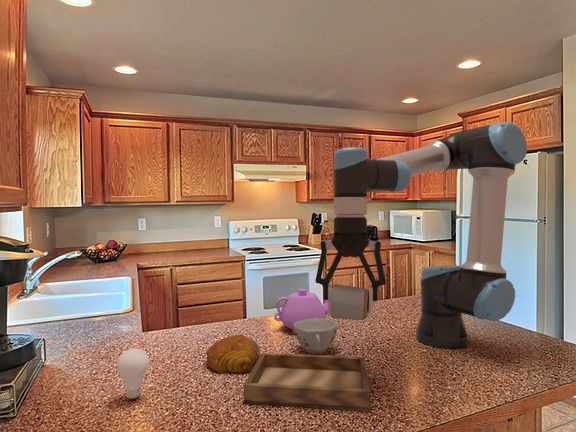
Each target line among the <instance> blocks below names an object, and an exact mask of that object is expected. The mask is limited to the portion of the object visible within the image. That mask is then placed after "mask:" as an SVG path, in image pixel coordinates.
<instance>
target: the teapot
mask: <svg viewBox="0 0 576 432" xmlns="http://www.w3.org/2000/svg"><path fill="white" fill-rule="evenodd" d="M297 291H298V292H292V293H290V294H289V295H288V296H281V297H279V298H278V299H277V300H276V303H275V305H276V310H277V313H275V314H274V316H273V319H274V320H275V321H276V322H282V324H283V325H284V326H285V327H286V328H289V329H291V334H293V335H296V334H295V329H294V323H295V322H297V321H301V320H304V319H309V318H323V319H324V318H327V317H326V316H327V315H328V300H324V303H322V302H321V300H320V298H319V297H318V295H317V294H316V293H314V292H309V291H308V289H306V288H299V289H297ZM281 301H284V303H283V305H282V307H280V302H281ZM277 316H278V317H277Z"/></svg>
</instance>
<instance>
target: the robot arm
mask: <svg viewBox="0 0 576 432" xmlns="http://www.w3.org/2000/svg"><path fill="white" fill-rule="evenodd" d="M522 131H523V130H522V129H521V128H520V127H519V126H518V125H516V124H515V123H513V122H511V121H502V122H493V123H490V124H487V125H486V124H485V125H482V126H479V127H474V128H470V129H465V130H460V131H457V132H455V133H453V134H450V135H448V136H445V137H443V138H442V137H441V138H439V139H435V140H433V141H430V142H429V143H428V144H427V145H426V146H422V147H419V148H418V147H417V148H415V149H410V150H408V151H403V152H400V153H395V154H392V155H388V156H385V157H384V156H383V157H380V158H376V159H371V158H369V157H368V151H367V149H366V148H362V147H344V148H343V147H342V148H339V149H337V150H336V151H335V153H334V156H333V157H334V158H333V195H334V196H333V214H334V215H336V216H335V217H334V218H333V236H332V238H331V239H329V240H323V239H322V240H321V241H320V243H319V246H320V250H321V251H320V257H319V262H318V265H317V271H316V277H315V283H316V284H319V285H321V286H322V289H323V292H322V293H323V294H322V295H323V297H322V298H323V300H324V301H326V300H328V314H327V315H328V316H331V295H332V289H333V286H332V284H330V282H331V280H332V279H333V275H334V274H335V272H336V270H337V268H338V266H339V263H340V261H341V260H342V258H349V257H352V258H359V260H360V262H361V265H362V267H363V269H364V271H365V273H366V275H367V277H368V279H369V282H370V283H371V285H367V290H368V292H369V295H368V317H369V318H373V306H374V305H373V302H377V301H378V298H379V297H378V293H379V292H378V291H379V290H378V288H379V287H380V286H384V285H386V284H387V280H386V275H385V271H384V267H383V266H384V265H383V261H382V257H381V256H382V255H381V247H382V243H381V241H379V240H370V239H369V238H368V237H369V236H368V220H367V219H368V218H367V217H366V215H367V214H368V193H379V192H384V193H385V192H390V193H395V192H403V191H404V190H406V189H407V187H409V185H410V182H411V178H413V177H416V176H419V175H422V174H426V173H429V172H436V173H441V172H444V171H450V170H467V171H468V173H469V175H471V177H472V191H471V204H470V211H469V212H470V213H469V226H468V227H469V228H468V238H467V249H466V250H467V251H466V261H465V262H464V263H462V264H461V265H456V264H455V265H453V264H452V265H451V264H450V265H436V266H435V265H433V266H425V267H424V268H423V269H422V271H421V277H420V291H421V293H420V294H421V297H420V299H421V303H420V304H421V313H420V314H421V315H420V317H419V320H418V324H417V326H416V329H415V339H416V340H417V341H418V342H420V343H421V344H424V345H427V346H431V347H433V348H434V347H436V348H441V349H459V348H463V347H467V345H468V344H469V334H468V331H467V328H466V325H465V322H464V319H463V314H465V315H468V316H471V317H474V318H477V319H478V320H486V321H491V322H495V321H500V320H502V319H504V318H505V317H506V316H507V315H508V314H509V313H510V312H511V310H512V308H513V306H514V304H515V299H516V290H515V288H514V285H513V282H511V281H510V280H508V279H507V271H506V269H505V268H503V266H502V254H503V243H504V241H503V240H504V230H505V229H504V228H505V227H504V226H505V217H506V216H505V215H506V203H507V195H508V194H507V193H508V192H507V191H508V182H509V178H510V177H511V176H512V175H514V174H515V173H516V165H518V164H520V163H522V162H523V161H524V160H525V158H526V156H527V153H528V144H527V140H526V136H525V134H524V133H523V132H522ZM331 246H333V247H334V248H335V250H336V251H337V252H336V254H335V257H334V259H333V261H332V263H331V265H330V267H329V269H328V272H327V273H326V275H325V277H324V278H323V272H324V269H325V261H326V257H327V251H328V250H330V247H331ZM368 246H370V249H371V250H372V251H373V256H374V260H375V266H376V270H377V275H378V279H376V277H375V275H374V274H373V272H372V269H371V268H370V265H369V262H368V260H367V259H366V256H365V254H364V253H363V252H364V251H365V250H366V249H367V247H368Z"/></svg>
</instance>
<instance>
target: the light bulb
mask: <svg viewBox="0 0 576 432" xmlns="http://www.w3.org/2000/svg"><path fill="white" fill-rule="evenodd" d="M149 367H150V359H149V356H148V354H147V353H146V351H144V350H143V349H141V348H134V347H133V348H130V349H127V350H125V351H124V352H123V353H122V354H121V355H119V357H118V359H117V362H116V371H117V373H118V375H119V376H120V378H121V379H122V381H123V383H124V387H125V389H126V393H125V394H126V398H127V399H130V400H136V399H137V398H140V396H141V395H142V390H141V389H142V388H141V387H142V385H143V380H144V377H145V375H146V373H147V371H148V369H149Z"/></svg>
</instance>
